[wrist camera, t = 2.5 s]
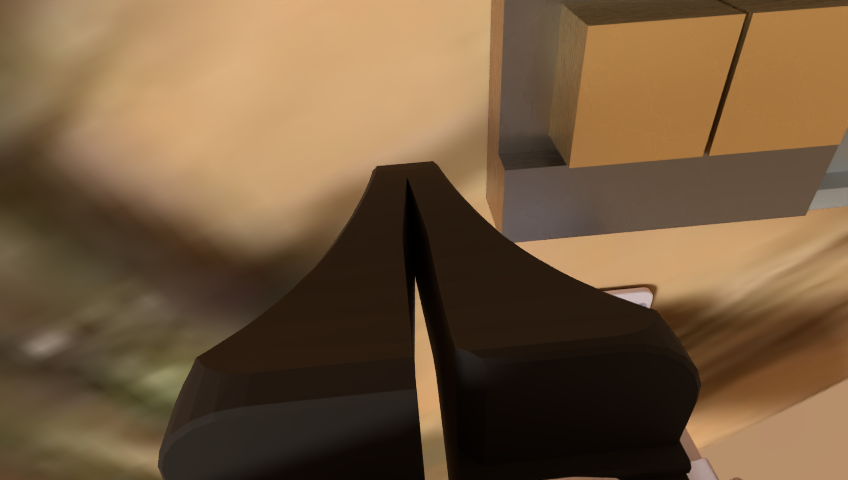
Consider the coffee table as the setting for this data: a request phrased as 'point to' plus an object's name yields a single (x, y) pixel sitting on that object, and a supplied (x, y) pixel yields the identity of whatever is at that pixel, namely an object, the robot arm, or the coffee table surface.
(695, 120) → the block
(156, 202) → the coffee table surface
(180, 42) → the coffee table surface
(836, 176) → the tray
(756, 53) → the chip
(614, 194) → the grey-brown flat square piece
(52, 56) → the coffee table surface
